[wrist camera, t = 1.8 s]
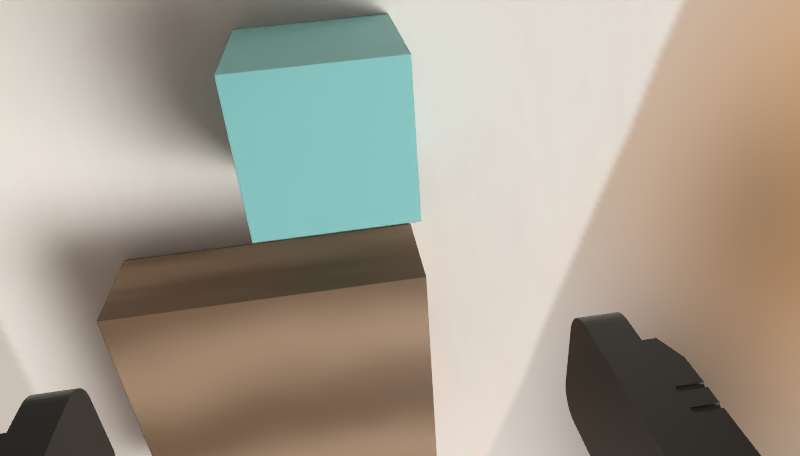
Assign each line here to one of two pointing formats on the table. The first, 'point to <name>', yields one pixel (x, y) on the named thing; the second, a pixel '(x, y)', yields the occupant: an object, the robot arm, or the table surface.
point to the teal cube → (321, 126)
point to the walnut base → (278, 347)
